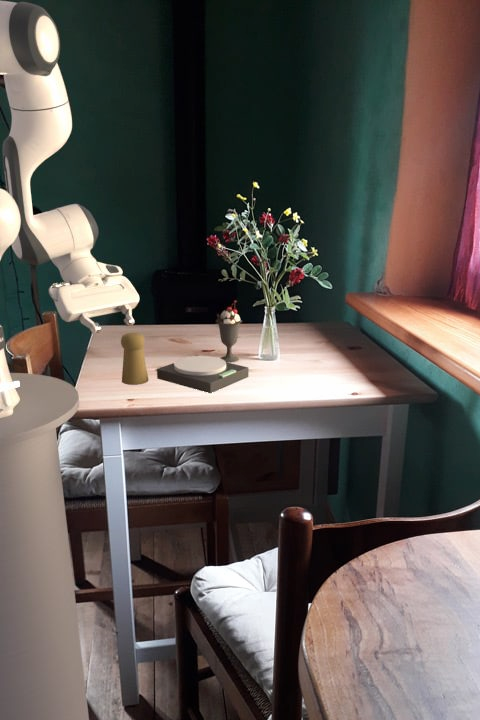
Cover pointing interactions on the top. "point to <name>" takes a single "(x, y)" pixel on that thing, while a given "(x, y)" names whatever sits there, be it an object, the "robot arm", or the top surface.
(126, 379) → the cork
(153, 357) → the top surface
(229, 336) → the sundae
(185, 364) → the scale
